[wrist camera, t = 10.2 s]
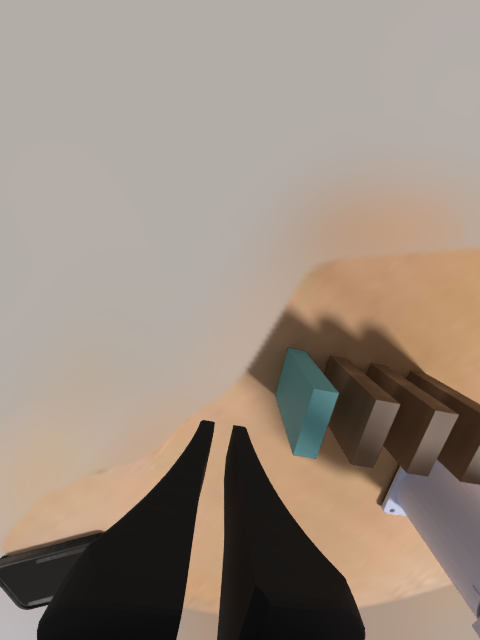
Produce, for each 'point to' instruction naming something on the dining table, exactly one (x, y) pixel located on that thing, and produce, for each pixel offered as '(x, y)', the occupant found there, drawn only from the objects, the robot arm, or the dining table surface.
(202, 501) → the dining table surface
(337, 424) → the domino
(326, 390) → the domino teal placed
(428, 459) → the domino
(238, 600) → the robot arm
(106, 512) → the dining table surface
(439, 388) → the domino
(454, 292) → the dining table surface
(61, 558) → the phone
